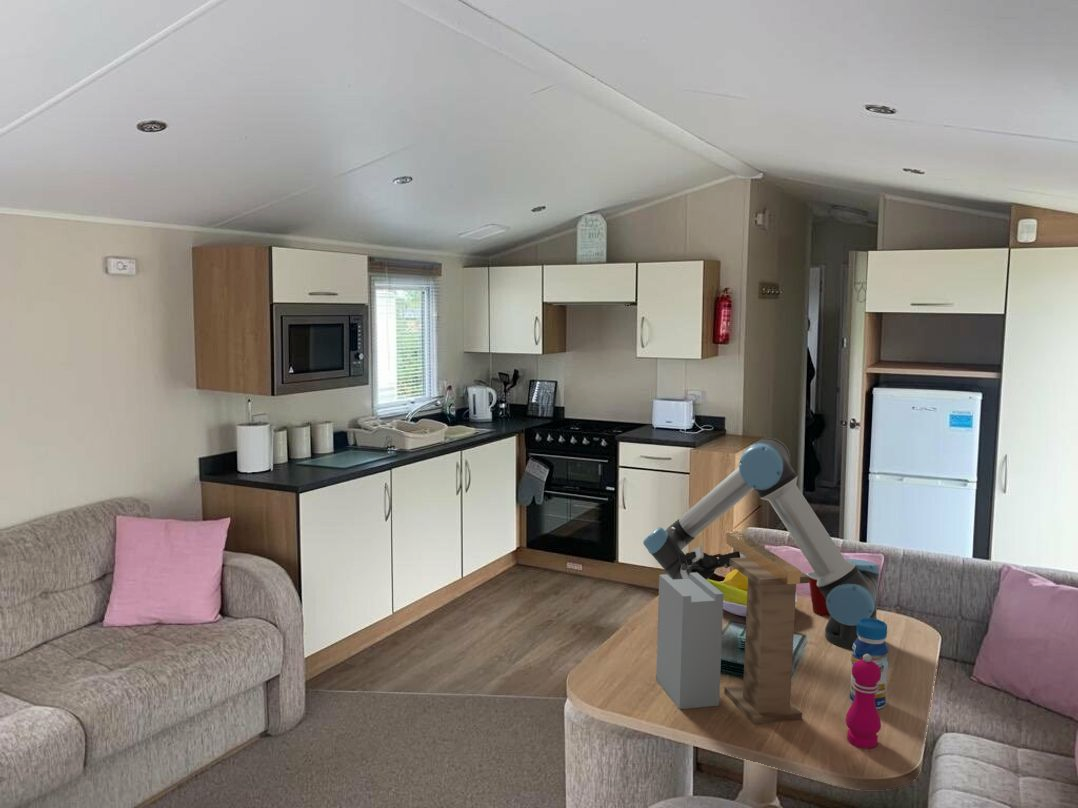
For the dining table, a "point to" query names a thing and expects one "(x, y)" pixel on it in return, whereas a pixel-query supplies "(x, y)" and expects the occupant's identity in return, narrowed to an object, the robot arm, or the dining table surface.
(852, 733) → the pepper mill
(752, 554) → the wooden bar
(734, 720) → the dining table surface
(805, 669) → the dining table surface
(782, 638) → the walnut stand
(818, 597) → the plastic cup
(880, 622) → the beverage bottle
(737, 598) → the fruit bowl
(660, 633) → the block
